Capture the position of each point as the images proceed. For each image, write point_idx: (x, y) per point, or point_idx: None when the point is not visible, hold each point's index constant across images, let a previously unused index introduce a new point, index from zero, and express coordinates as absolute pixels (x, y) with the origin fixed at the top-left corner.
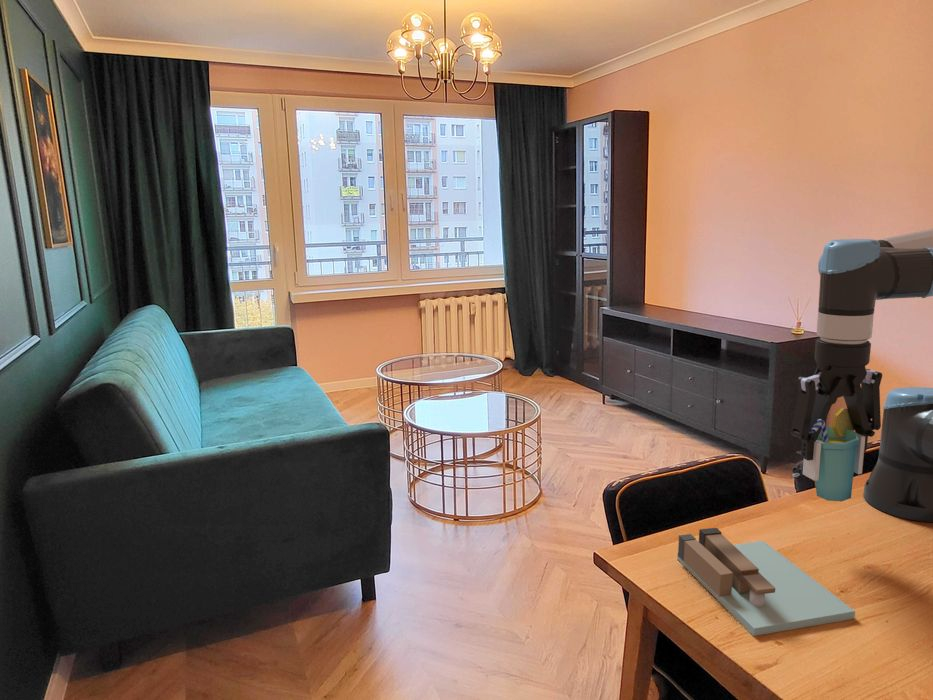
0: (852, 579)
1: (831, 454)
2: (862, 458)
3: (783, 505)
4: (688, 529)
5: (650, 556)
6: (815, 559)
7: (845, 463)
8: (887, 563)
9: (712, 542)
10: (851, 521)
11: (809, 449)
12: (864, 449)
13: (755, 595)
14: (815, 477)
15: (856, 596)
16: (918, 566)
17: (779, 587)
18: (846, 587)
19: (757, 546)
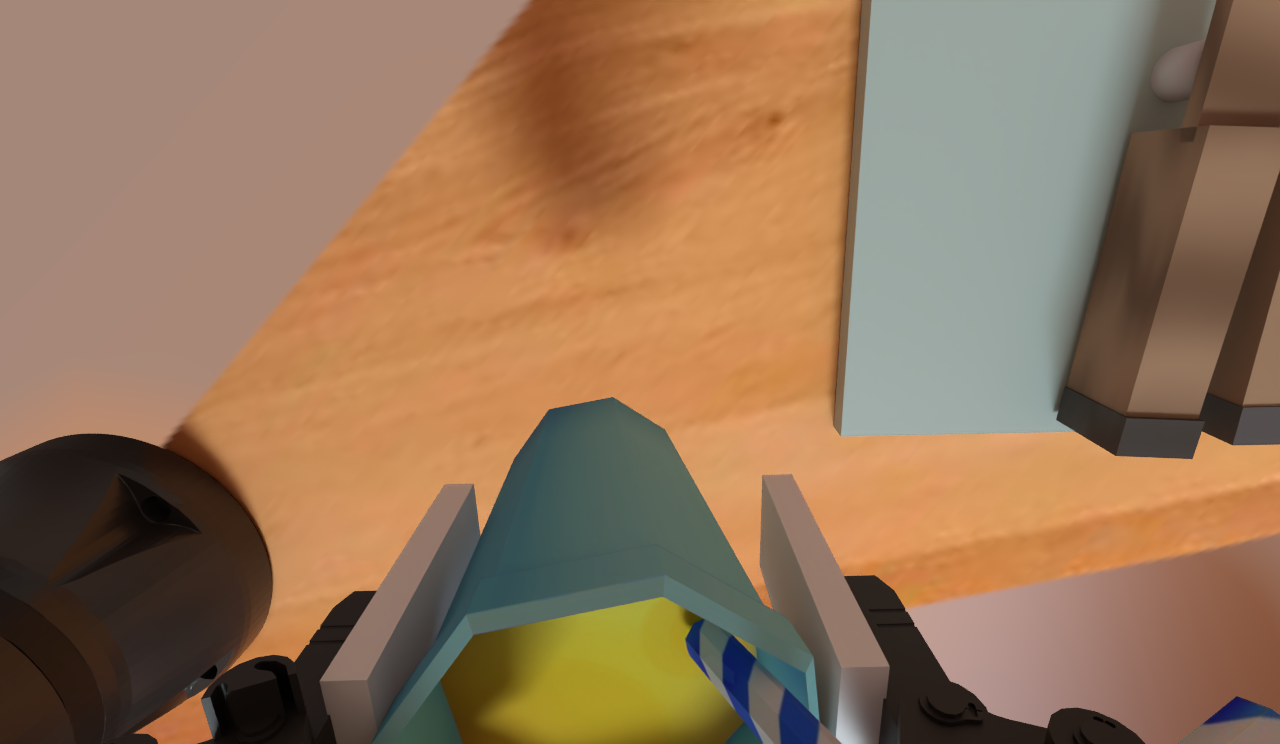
0: (682, 178)
1: (715, 566)
2: (414, 543)
3: None
4: (993, 575)
5: (1242, 454)
6: (713, 319)
7: (610, 491)
8: (485, 243)
9: (1215, 361)
10: (412, 506)
11: (903, 640)
12: (355, 606)
13: None
14: (789, 484)
15: (749, 78)
16: (392, 202)
17: (1021, 145)
18: (740, 137)
19: (888, 406)
